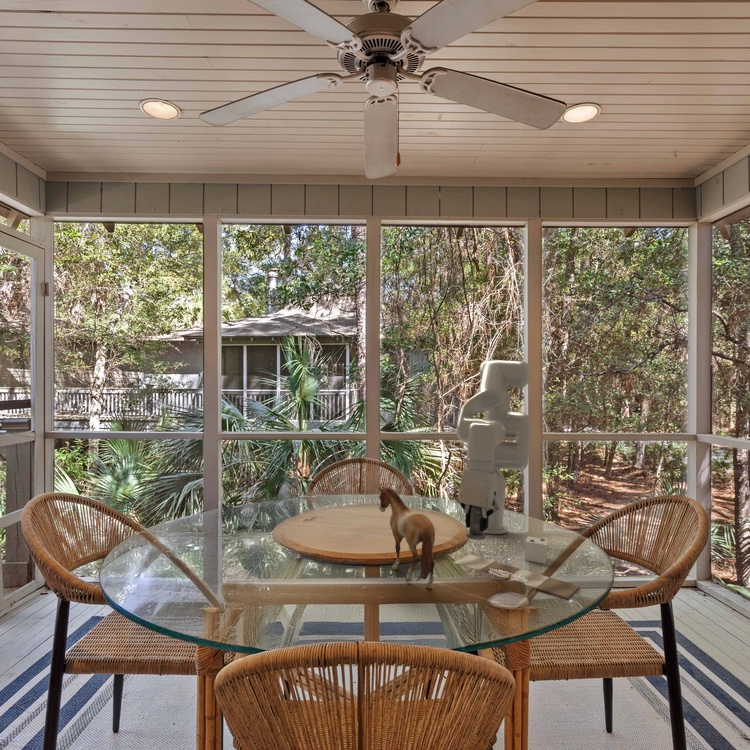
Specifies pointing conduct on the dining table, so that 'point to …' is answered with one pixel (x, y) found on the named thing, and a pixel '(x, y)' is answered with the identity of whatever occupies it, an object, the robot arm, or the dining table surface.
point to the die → (536, 549)
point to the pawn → (475, 524)
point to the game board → (534, 580)
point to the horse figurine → (410, 533)
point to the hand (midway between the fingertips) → (476, 527)
